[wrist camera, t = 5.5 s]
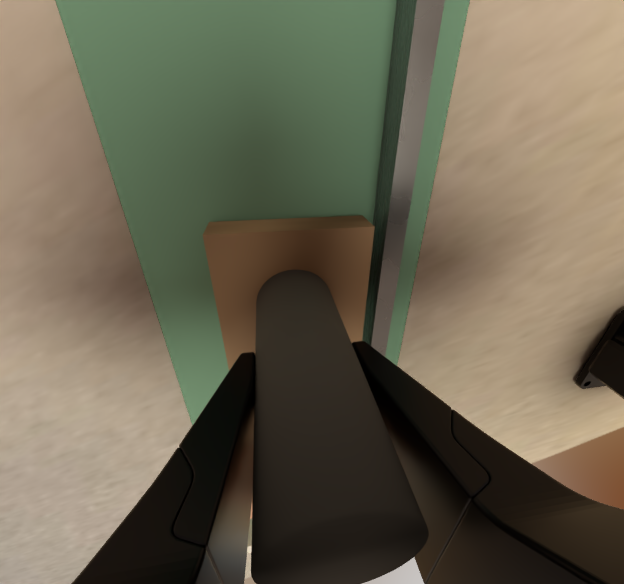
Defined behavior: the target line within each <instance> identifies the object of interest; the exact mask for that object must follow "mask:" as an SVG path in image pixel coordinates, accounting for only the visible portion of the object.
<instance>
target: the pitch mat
mask: <svg viewBox="0 0 624 584" xmlns="http://www.w3.org/2000/svg"><path fill="white" fill-rule="evenodd" d="M55 1H56V4H57V7H58V10H59V13H60V16H61V19H62V22H63V25H64V28H65V32H66V35H67V38H68V41H69V44H70V47H71V50H72V53H73V56H74V59H75V63H76V66H77V69H78V72H79V75H80V78H81V81H82V84H83V87H84V90H85V94H86V97H87V100H88V103H89V106H90V109H91V112H92V115H93V118H94V121H95V125H96V128H97V131H98V134H99V137H100V140H101V143H102V146H103V149H104V152H105V156H106V159H107V162H108V165H109V168H110V171H111V174H112V177H113V180H114V183H115V186H116V190H117V193H118V196H119V199H120V202H121V205H122V208H123V211H124V214H125V217H126V221H127V224H128V227H129V230H130V233H131V236H132V239H133V242H134V245H135V248H136V252H137V255H138V258H139V261H140V264H141V267H142V270H143V273H144V276H145V279H146V283H147V286H148V289H149V292H150V295H151V298H152V301H153V304H154V307H155V310H156V314H157V317H158V320H159V323H160V326H161V329H162V332H163V335H164V338H165V341H166V345H167V348H168V351H169V354H170V357H171V360H172V363H173V366H174V369H175V372H176V376H177V379H178V382H179V385H180V388H181V391H182V394H183V397H184V400H185V403H186V406H187V410H188V413H189V416H190V419H191V422H192V425H193V424H194V423H195V421H196V420H197V418H198V417H199V415H200V414H201V412H202V411H203V409H204V408H205V406H206V405H207V403H208V402H209V400H210V399H211V397H212V396H213V394H214V393H215V391H216V390H217V388H218V387H219V385H220V384H221V382H222V381H223V379H224V378H225V376H226V375H227V373H228V372H229V368H228V363H227V358H226V353H225V348H224V342H223V337H222V332H221V327H220V322H219V317H218V312H217V307H216V301H215V296H214V291H213V286H212V281H211V276H210V271H209V266H208V260H207V255H206V250H205V245H204V240H203V233H204V231H205V229H206V227H207V225H208V223H209V222H218V221H241V220H264V219H287V218H310V217H334V216H357V215H363V216H364V217H365V218H366V219H367V220H368V221H369V222H370V223H371V224H372V225H373V217H374V208H375V199H376V189H377V180H378V171H379V161H380V152H381V143H382V133H383V124H384V115H385V105H386V96H387V87H388V77H389V68H390V59H391V49H392V40H393V31H394V21H395V12H396V2H397V0H55ZM469 1H470V0H445V3H444V9H443V14H442V20H441V26H440V32H439V38H438V44H437V50H436V56H435V62H434V68H433V74H432V80H431V86H430V92H429V98H428V104H427V110H426V116H425V122H424V128H423V134H422V140H421V146H420V152H419V158H418V164H417V170H416V176H415V182H414V188H413V193H412V199H411V205H410V211H409V217H408V223H407V229H406V235H405V241H404V247H403V253H402V259H401V265H400V271H399V277H398V283H397V289H396V295H395V301H394V307H393V313H392V319H391V325H390V331H389V337H388V343H387V349H386V355H385V357H386V358H387V359H389V360H390V361H391V362H392V363H394V364H395V365H396V366H397V363H398V358H399V353H400V348H401V343H402V338H403V333H404V328H405V323H406V318H407V313H408V308H409V303H410V298H411V293H412V288H413V283H414V278H415V273H416V268H417V263H418V258H419V253H420V248H421V243H422V238H423V233H424V228H425V223H426V218H427V213H428V208H429V202H430V197H431V192H432V187H433V182H434V177H435V172H436V167H437V162H438V157H439V152H440V147H441V142H442V137H443V132H444V127H445V122H446V117H447V112H448V107H449V102H450V97H451V92H452V87H453V82H454V77H455V72H456V67H457V62H458V57H459V52H460V47H461V42H462V37H463V32H464V26H465V21H466V16H467V11H468V6H469Z"/></svg>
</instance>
